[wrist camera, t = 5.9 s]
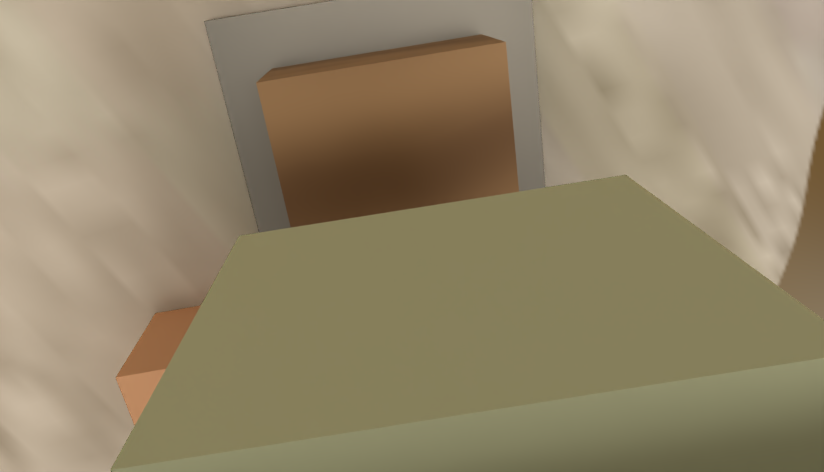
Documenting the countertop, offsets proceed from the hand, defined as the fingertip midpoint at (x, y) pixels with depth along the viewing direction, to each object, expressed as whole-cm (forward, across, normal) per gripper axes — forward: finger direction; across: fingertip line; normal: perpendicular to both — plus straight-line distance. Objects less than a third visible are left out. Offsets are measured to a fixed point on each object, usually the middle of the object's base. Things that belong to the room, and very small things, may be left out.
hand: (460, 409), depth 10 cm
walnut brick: (+16, 0, 0) cm, 16 cm away
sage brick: (+1, 0, 0) cm, 1 cm away
